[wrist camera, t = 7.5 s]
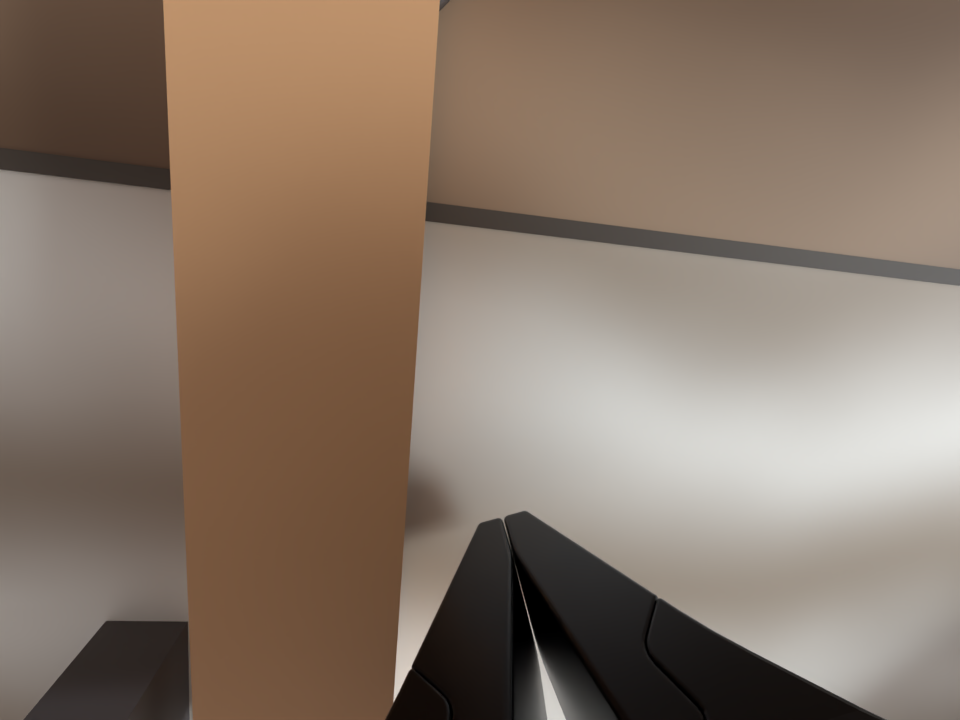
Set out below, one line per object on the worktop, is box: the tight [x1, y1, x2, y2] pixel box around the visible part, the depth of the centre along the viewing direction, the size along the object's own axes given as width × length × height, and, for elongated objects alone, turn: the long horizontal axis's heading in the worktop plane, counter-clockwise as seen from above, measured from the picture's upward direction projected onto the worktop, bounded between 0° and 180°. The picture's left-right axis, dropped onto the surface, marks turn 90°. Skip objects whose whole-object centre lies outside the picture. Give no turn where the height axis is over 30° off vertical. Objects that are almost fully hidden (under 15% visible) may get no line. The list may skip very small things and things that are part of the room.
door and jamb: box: [0, 0, 960, 720], centre depth 8 cm, size 22×23×4 cm
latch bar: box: [163, 0, 440, 720], centre depth 6 cm, size 16×2×3 cm, turn 175°
